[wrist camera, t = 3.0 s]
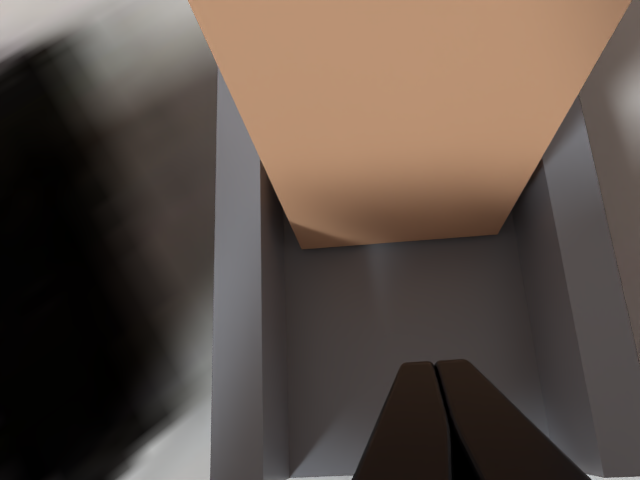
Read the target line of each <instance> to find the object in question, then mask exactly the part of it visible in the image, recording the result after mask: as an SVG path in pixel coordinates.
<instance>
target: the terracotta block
mask: <svg viewBox="0 0 640 480" xmlns="http://www.w3.org/2000/svg"><path fill="white" fill-rule="evenodd" d="M631 1H632V0H188V2H189V4H190V6H191V8H192V10H193V13H194V15H195V17H196V19H197V21H198V23H199V26H200V28H201V30H202V32H203V34H204V37H205V39H206V41H207V43H208V45H209V48H210V50H211V52H212V54H213V56H214V59H215V61H216V63H217V65H218V67H219V69H220V72H221V74H222V76H223V78H224V80H225V83H226V85H227V87H228V89H229V91H230V94H231V96H232V98H233V100H234V102H235V104H236V107H237V109H238V111H239V113H240V115H241V118H242V120H243V122H244V124H245V126H246V129H247V131H248V133H249V135H250V137H251V139H252V142H253V144H254V146H255V148H256V150H257V153H258V155H259V157H260V159H261V161H262V164H263V166H264V168H265V170H266V172H267V175H268V177H269V179H270V181H271V183H272V185H273V188H274V190H275V192H276V194H277V196H278V199H279V201H280V203H281V205H282V207H283V210H284V212H285V214H286V216H287V218H288V220H289V223H290V225H291V227H292V229H293V231H294V234H295V236H296V238H297V240H298V242H299V245H300V247H301V249H314V248H327V247H340V246H353V245H366V244H379V243H392V242H405V241H419V240H432V239H445V238H458V237H471V236H484V235H497V234H498V233H499V231H500V229H501V227H502V226H503V224H504V222H505V221H506V219H507V217H508V215H509V214H510V212H511V210H512V208H513V207H514V205H515V203H516V201H517V200H518V198H519V196H520V194H521V193H522V191H523V189H524V187H525V186H526V184H527V182H528V181H529V179H530V177H531V175H532V174H533V172H534V170H535V168H536V167H537V165H538V163H539V161H540V160H541V158H542V156H543V154H544V153H545V151H546V149H547V147H548V146H549V144H550V142H551V140H552V139H553V137H554V135H555V134H556V132H557V130H558V128H559V127H560V125H561V123H562V121H563V120H564V118H565V116H566V114H567V113H568V111H569V109H570V107H571V106H572V104H573V102H574V100H575V99H576V97H577V95H578V94H579V92H580V90H581V88H582V87H583V85H584V83H585V81H586V80H587V78H588V76H589V74H590V73H591V71H592V69H593V67H594V66H595V64H596V62H597V60H598V59H599V57H600V55H601V53H602V52H603V50H604V48H605V47H606V45H607V43H608V41H609V40H610V38H611V36H612V34H613V33H614V31H615V29H616V27H617V26H618V24H619V22H620V20H621V19H622V17H623V15H624V13H625V12H626V10H627V8H628V6H629V5H630V3H631Z"/></svg>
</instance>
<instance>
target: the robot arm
mask: <svg viewBox="0 0 640 480" xmlns="http://www.w3.org/2000/svg"><path fill="white" fill-rule="evenodd" d="M352 480H591V479H590V478H589V477H588V476H587V475H586V474H585V473H584V472H583V471H582V470H581V469H580V468H579V467H578V466H577V465H576V464H575V463H574V462H573V461H572V460H571V459H570V458H569V457H568V456H567V455H566V454H565V453H564V452H563V451H561V450H560V449H559V448H558V447H557V446H556V445H555V444H554V443H553V442H552V441H551V440H550V439H549V438H548V437H547V436H546V435H545V434H544V433H543V432H542V431H541V430H540V429H539V428H538V427H537V426H536V425H535V424H534V423H533V422H532V421H530V420H529V419H528V418H527V417H526V416H525V415H524V414H523V413H522V412H521V411H520V410H519V409H518V408H517V407H516V406H515V405H514V404H513V403H512V402H511V401H510V400H509V399H508V398H507V397H506V396H505V395H504V394H503V393H502V392H501V391H499V390H498V389H497V388H496V387H495V386H494V385H493V384H492V383H491V382H490V381H489V380H488V379H487V378H486V377H485V376H484V375H483V374H482V373H481V372H480V371H479V370H478V369H477V368H476V367H475V366H474V365H473V364H472V363H471V362H469V361H468V360H466V359H453V360H439V361H437V362H436V363H435V366H434V364H433V363H432V362H430V361H419V362H405V363H403V364H402V365H401V366H400V368H399V370H398V372H397V374H396V377H395V379H394V381H393V384H392V386H391V389H390V391H389V393H388V396H387V398H386V400H385V403H384V405H383V407H382V410H381V412H380V414H379V417H378V419H377V421H376V424H375V426H374V429H373V431H372V433H371V436H370V438H369V440H368V443H367V445H366V447H365V450H364V452H363V454H362V457H361V459H360V461H359V464H358V466H357V469H356V471H355V473H354V476H353V478H352Z"/></svg>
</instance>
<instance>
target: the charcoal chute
mask: <svg viewBox="0 0 640 480" xmlns="http://www.w3.org/2000/svg"><path fill="white" fill-rule="evenodd" d="M453 359H466V360H468V361H469V362H471V363H472V364H473V365H474V366H475V367H476V368H477V369H478V370H479V371H480V372H481V373H482V374H483V375H484V376H485V377H486V378H487V379H488V380H489V381H490V382H491V383H492V384H493V385H494V386H495V387H496V388H497V389H498V390H499V391H501V392H502V393H503V394H504V395H505V396H506V397H507V398H508V399H509V400H510V401H511V402H512V403H513V404H514V405H515V406H516V407H517V408H518V409H519V410H520V411H521V412H522V413H523V414H524V415H525V416H526V417H527V418H528V419H529V420H530V421H532V422H533V423H534V424H535V425H536V426H537V427H538V428H539V429H540V430H541V431H542V432H543V433H544V434H545V435H546V436H547V437H548V438H549V439H550V440H551V441H552V442H553V443H554V444H555V445H556V446H557V447H558V448H559V449H560V450H561V451H563V452H564V453H565V454H566V455H567V456H568V457H569V458H570V459H571V460H572V461H573V462H574V463H575V464H576V465H577V466H578V467H579V468H580V469H581V470H582V471H583V472H584V473H585V474H589V475H594V476H599V477H603V478H609V477H635V476H640V364H639V360H638V355H637V351H636V346H635V342H634V338H633V333H632V329H631V324H630V320H629V315H628V311H627V307H626V302H625V298H624V293H623V289H622V284H621V280H620V276H619V271H618V267H617V262H616V258H615V253H614V249H613V245H612V240H611V236H610V231H609V227H608V222H607V218H606V214H605V209H604V205H603V200H602V196H601V191H600V187H599V183H598V178H597V174H596V169H595V165H594V160H593V156H592V152H591V147H590V143H589V138H588V134H587V129H586V125H585V121H584V116H583V112H582V107H581V103H580V99H579V94H578V95H577V97H576V99H575V100H574V102H573V104H572V106H571V107H570V109H569V111H568V113H567V114H566V116H565V118H564V120H563V121H562V123H561V125H560V127H559V128H558V130H557V132H556V134H555V135H554V137H553V139H552V140H551V142H550V144H549V146H548V147H547V149H546V151H545V153H544V154H543V156H542V158H541V160H540V161H539V163H538V165H537V167H536V168H535V170H534V172H533V174H532V175H531V177H530V179H529V181H528V182H527V184H526V186H525V187H524V189H523V191H522V193H521V194H520V196H519V198H518V200H517V201H516V203H515V205H514V207H513V208H512V210H511V212H510V214H509V215H508V217H507V219H506V221H505V222H504V224H503V226H502V227H501V229H500V231H499V233H498V234H497V235H484V236H471V237H458V238H445V239H432V240H419V241H405V242H392V243H379V244H366V245H353V246H340V247H327V248H314V249H301V247H300V245H299V242H298V240H297V238H296V236H295V234H294V231H293V229H292V227H291V225H290V223H289V220H288V218H287V216H286V214H285V212H284V210H283V207H282V205H281V203H280V201H279V199H278V196H277V194H276V192H275V190H274V188H273V185H272V183H271V181H270V179H269V177H268V175H267V172H266V170H265V168H264V166H263V164H262V161H261V159H260V157H259V155H258V153H257V150H256V148H255V146H254V144H253V142H252V139H251V137H250V135H249V133H248V131H247V129H246V126H245V124H244V122H243V120H242V118H241V115H240V113H239V111H238V109H237V107H236V104H235V102H234V100H233V98H232V96H231V94H230V91H229V89H228V87H227V85H226V83H225V80H224V78H223V76H222V74H221V72H220V69H219V67H218V78H217V134H216V189H215V245H214V300H213V356H212V412H211V467H210V480H286V479H288V478H296V477H321V476H346V475H354V473H355V471H356V469H357V466H358V464H359V461H360V459H361V457H362V454H363V452H364V450H365V447H366V445H367V443H368V440H369V438H370V436H371V433H372V431H373V429H374V426H375V424H376V421H377V419H378V417H379V414H380V412H381V410H382V407H383V405H384V403H385V400H386V398H387V396H388V393H389V391H390V389H391V386H392V384H393V381H394V379H395V377H396V374H397V372H398V370H399V368H400V366H401V365H402V364H403V363H405V362H419V361H430V362H432V363H433V364H434V366H435V363H436V362H437V361H439V360H453Z"/></svg>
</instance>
